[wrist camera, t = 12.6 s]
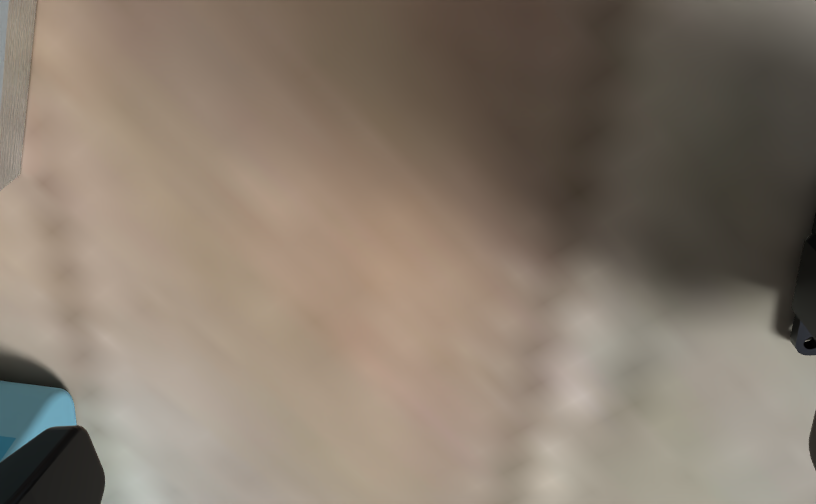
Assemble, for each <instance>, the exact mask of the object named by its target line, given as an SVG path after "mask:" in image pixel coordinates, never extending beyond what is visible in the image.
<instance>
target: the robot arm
mask: <svg viewBox="0 0 816 504" xmlns="http://www.w3.org/2000/svg"><path fill="white" fill-rule="evenodd" d="M792 310H793V311H794V312H795V317H794V321H793V326H792V331H791V336H790V337H791V342H792V344H793V345H794V347H795V348H796V349H797V351H798V352H799V353H801V354H803V355H816V214H815V219H814V224H813V229H812V234H810V235H809V237H808V238H807V239H806V240H805V242H804V246H803V251H802V256H801V261H800V266H799V271H798V276H797V281H796V286H795V291H794V296H793V301H792ZM809 337H813V339H811V340H810V341H807V342H805V340H806V339H808V338H809ZM809 451H810V456H811V459H812V462H813V465H814V467H815V470H816V411H815V416H814V420H813V424H812V428H811V432H810V437H809ZM104 487H105V475H104V471H103V468H102V465H101V463H100V460H99V458H98V456H97V453H96V451H95V448H94V446H93V444H92V441H91V439H90V436H89V434H88V432H87V431H86V430H85V429H84V428H83V427H82V426H78V425H73V426H55V427H50V428H48V429H46V430H44V431H43V432H41V433H40V434H39V435H37V436H36V437H34V438H33V439H32V440H30V441H29V442H28V443H26V444H25V445H23V446H22V447H21V448H19V449H18V450H17V451H15V452H14V453H12V454H11V455H10V456H8V457H7V458H5V459H4V460H3V461H1V462H0V504H101V500H102V496H103V493H104Z"/></svg>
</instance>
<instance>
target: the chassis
mask: <svg viewBox="0 0 816 504" xmlns="http://www.w3.org/2000/svg"><path fill="white" fill-rule="evenodd" d="M36 4H37V0H0V191H1V190H2V189H3V188H5V187H6V186H7V185H8V184H9V183H11V182H12V181H13V180H14V179H15V178H17V177H18V176H19V175H20V169H21V159H22V149H23V138H24V128H25V118H26V107H27V97H28V87H29V76H30V66H31V56H32V45H33V35H34V25H35V14H36Z"/></svg>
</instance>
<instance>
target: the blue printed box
mask: <svg viewBox="0 0 816 504" xmlns="http://www.w3.org/2000/svg"><path fill="white" fill-rule="evenodd" d="M73 425H77V424H76V416H75V408H74V403H73V399H72V397H71V395H70V394H69V393H68V392H67V391H66V390H64V389H61V388H54V387H47V386H39V385H31V384H23V383H15V382H7V381H0V462H1V461H3V460H4V459H5V458H7V457H8V456H10V455H11V454H12V453H14V452H15V451H17V450H18V449H19V448H21V447H22V446H23V445H25V444H26V443H28V442H29V441H30V440H32V439H33V438H34V437H36V436H37V435H39V434H40V433H41V432H43V431H44V430H46V429H48V428H50V427H55V426H73Z"/></svg>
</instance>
